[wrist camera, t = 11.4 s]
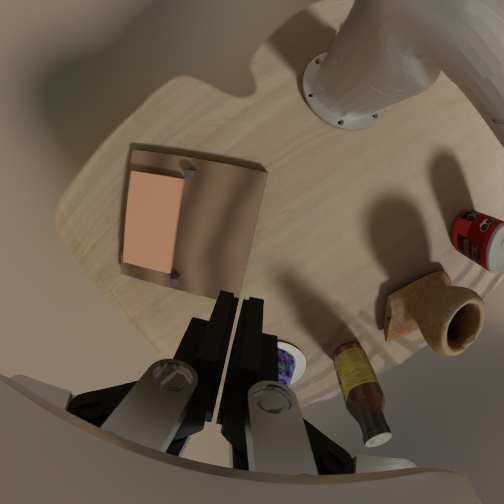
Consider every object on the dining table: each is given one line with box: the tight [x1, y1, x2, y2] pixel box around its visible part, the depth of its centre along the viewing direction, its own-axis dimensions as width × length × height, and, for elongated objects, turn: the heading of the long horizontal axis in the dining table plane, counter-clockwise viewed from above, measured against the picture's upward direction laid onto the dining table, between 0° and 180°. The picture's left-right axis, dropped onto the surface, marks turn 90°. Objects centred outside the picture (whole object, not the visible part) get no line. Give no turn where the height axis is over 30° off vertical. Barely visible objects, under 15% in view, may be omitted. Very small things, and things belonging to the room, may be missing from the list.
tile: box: [123, 171, 185, 274], centre depth 37 cm, size 8×14×1 cm, turn 168°
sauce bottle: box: [333, 343, 392, 447], centre depth 36 cm, size 6×6×20 cm
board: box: [121, 150, 268, 299], centre depth 38 cm, size 20×20×3 cm
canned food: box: [451, 210, 504, 274], centre depth 31 cm, size 8×8×11 cm
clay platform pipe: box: [384, 271, 485, 356], centre depth 34 cm, size 15×12×15 cm
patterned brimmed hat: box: [278, 342, 306, 387], centre depth 45 cm, size 12×12×5 cm
